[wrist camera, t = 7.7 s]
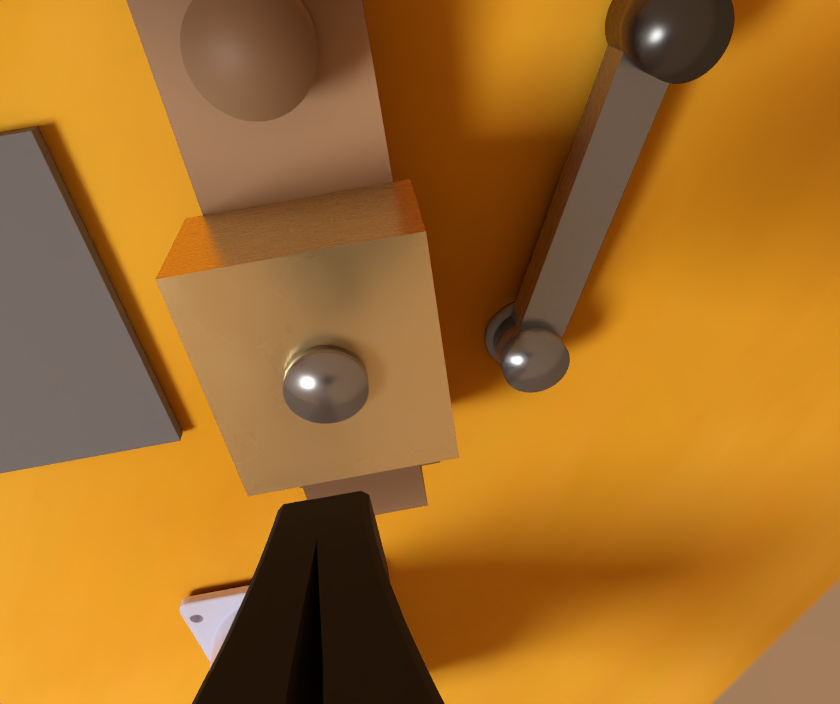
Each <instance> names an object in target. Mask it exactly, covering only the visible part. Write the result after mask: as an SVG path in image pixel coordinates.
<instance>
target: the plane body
mask: <svg viewBox="0 0 840 704" xmlns="http://www.w3.org/2000/svg"><path fill="white" fill-rule="evenodd" d="M127 3H128V6H129V9H130V12H131V14H132V17H133V20H134V23H135V26H136V28H137V31H138V34H139V37H140V40H141V43H142V45H143V48H144V51H145V54H146V57H147V59H148V62H149V65H150V68H151V71H152V73H153V76H154V79H155V82H156V85H157V87H158V90H159V93H160V96H161V99H162V101H163V104H164V107H165V110H166V113H167V116H168V118H169V121H170V124H171V127H172V130H173V132H174V135H175V138H176V141H177V144H178V146H179V149H180V152H181V155H182V158H183V160H184V163H185V166H186V169H187V172H188V175H189V177H190V180H191V183H192V186H193V189H194V191H195V194H196V197H197V200H198V203H199V205H200V208H201V211H202V214H203V215H208V214H214V213H220V212H225V211H231V210H237V209H242V208H248V207H254V206H259V205H265V204H271V203H276V202H282V201H288V200H293V199H299V198H304V197H310V196H316V195H321V194H327V193H333V192H338V191H344V190H350V189H355V188H361V187H367V186H372V185H378V184H384V183H389V182H393V178H392V172H391V166H390V160H389V154H388V148H387V143H386V137H385V131H384V125H383V119H382V113H381V107H380V101H379V95H378V89H377V83H376V77H375V72H374V66H373V60H372V54H371V48H370V42H369V36H368V30H367V24H366V18H365V12H364V6H363V1H362V0H127ZM514 304H515V302H514V303H511V304H509V305H507V306H505V307H503V308H502V309H500V310H499V311H498V312H497V313H496V314H495V315H494V316H493V317H492V318H491V320H490V321H489V323H488V325H487V328H486V331H485V343H486V346H487V349H488V352H489V354H490V355H491V357H492V358H493V359H494V360H495V361H496V362H498V363H499V361H498V358H497V355H496V353H495V350H494V347H493V337H494V333H495V331H496V329H497V328H498V326H499V325H500V324H501V323H502V322H503V321H504V320H505V319H506V318H508V317H509V316H511V315H512V314H511V312H512V310H513V307H514ZM499 364H500V363H499ZM439 462H440V461H437V462H432V463H426V464H421V465H416V466H410V467H405V468H399V469H394V470H388V471H383V472H377V473H372V474H366V475H361V476H355V477H350V478H345V479H339V480H334V481H328V482H323V483H317V484H312V485H306V486H301V487H300V488H303V489H304V492H305V494H306V497H307V500H311V499H317V498H322V497H328V496H334V495H339V494H345V493H351V492H356V491H363V492H365V493H367V494H369V495H370V499H371V503H372V507H373V511H374V515H378V514H383V513H389V512H394V511H400V510H405V509H410V508H416V507H421V506H427V505H428V504H427V498H426V492H425V486H424V479H423V473H422V467H421V466H423V465H428V464H434V463H439Z"/></svg>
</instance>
